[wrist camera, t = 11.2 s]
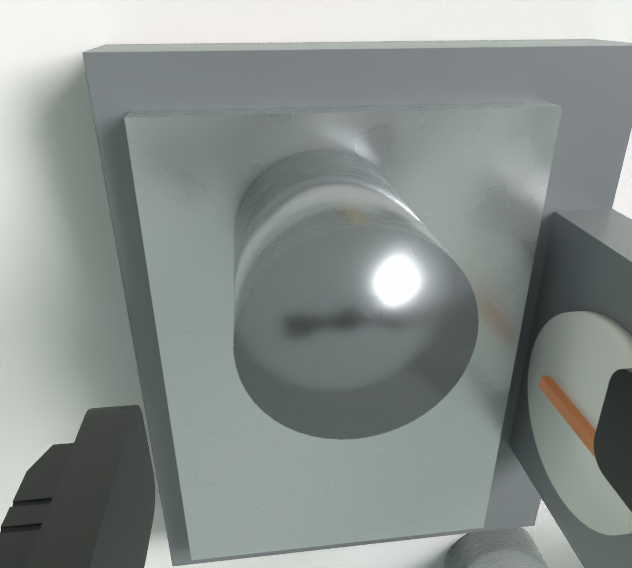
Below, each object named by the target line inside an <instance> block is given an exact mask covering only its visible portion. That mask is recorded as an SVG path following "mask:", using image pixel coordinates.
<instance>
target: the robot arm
mask: <svg viewBox="0 0 632 568" xmlns="http://www.w3.org/2000/svg"><path fill="white" fill-rule="evenodd" d="M594 454H595V458H596V461H597V464H598V467H599V469H600V471H601V472H602V474H603V475H604V477H605V478H606V480H607V481H608V482H609V483H610V485H611V486H612V487H613V489H614V490H615V491H616V493H617V494H618V495H619V497H620V498H621V499H622V500H623V502H624V503H625V504H626V506H627V507H628V508H629V510H630V511H631V512H632V368H627V369H619V370H617V371H615V372H614V373H613V374H612V376H611V378H610V381H609V384H608V388H607V392H606V395H605V399H604V403H603V406H602V410H601V414H600V418H599V421H598V425H597V429H596V432H595V436H594ZM154 506H155V483H154V475H153V469H152V464H151V458H150V453H149V447H148V442H147V437H146V431H145V426H144V420H143V415H142V411H141V409H140V407H139V406H138V405H130V406H117V407H104V408H92V409H89V410H88V411H87V412H86V414H85V417H84V419H83V422H82V424H81V427H80V429H79V432H78V434H77V437H76V440H75V442H74V443H69V444H57V445H52V446H51V447H50V448H49V449H48V450H47V451H46V452H45V453H44V454H43V456H42V457H41V458H40V459H39V460H38V461H37V462H36V463H35V464H34V465H33V466H32V467H31V468H30V469H29V470H28V471H27V472H26V474H25V477H24V479H23V481H22V483H21V485H20V487H19V489H18V491H17V494H16V496H15V498H14V500H13V507H10V508H9V510H8V513H7V515H6V517H5V519H4V521H3V523H2V525H1V532H0V568H144V566H145V561H146V555H147V549H148V544H149V538H150V533H151V527H152V522H153V516H154Z"/></svg>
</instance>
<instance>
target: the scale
mask: <svg viewBox="0 0 632 568" xmlns="http://www.w3.org/2000/svg"><path fill="white" fill-rule="evenodd" d="M82 53H83V59H84V65H85V70H86V76H87V82H88V87H89V93H90V99H91V104H92V110H93V116H94V121H95V127H96V133H97V138H98V144H99V150H100V156H101V161H102V167H103V173H104V178H105V184H106V190H107V195H108V201H109V207H110V212H111V218H112V224H113V229H114V235H115V241H116V247H117V252H118V258H119V264H120V269H121V275H122V281H123V286H124V292H125V298H126V303H127V309H128V315H129V320H130V326H131V332H132V338H133V343H134V349H135V355H136V360H137V366H138V372H139V377H140V383H141V389H142V394H143V400H144V406H145V411H146V417H147V423H148V429H149V434H150V440H151V446H152V451H153V457H154V463H155V468H156V474H157V480H158V485H159V491H160V497H161V502H162V508H163V514H164V520H165V525H166V531H167V537H168V542H169V548H170V554H171V559H172V565H173V566H179V565H188V564H197V563H206V562H214V561H223V560H232V559H241V558H250V557H259V556H268V555H277V554H285V553H294V552H303V551H312V550H321V549H330V548H339V547H348V546H356V545H365V544H374V543H383V542H392V541H401V540H410V539H419V538H427V537H436V536H445V535H454V534H463V533H472V532H481V531H490V530H498V529H507V528H516V527H525V526H534V524H535V520H536V516H537V512H538V508H539V504H540V500H541V498H542V500H543V501H544V503H545V505H546V506H547V508H548V509H549V511H550V513H551V514H552V516H553V518H554V519H555V521H556V522H557V524H558V526H559V527H560V529H561V531H562V532H563V534H564V535H565V537H566V539H567V540H568V542H569V544H570V545H571V547H572V548H573V550H574V552H575V553H576V555H577V557H578V558H579V560H580V561H581V563H582V565H583V566H584V568H632V512H631V511H630V510H629V508H628V507H627V506H626V504H625V503H624V502H623V500H622V499H621V498H620V497H619V495H618V494H617V493H616V491H615V490H614V489H613V487H612V486H611V485H610V483H609V482H608V481H607V480H606V478H605V477H604V475H603V474H602V472H601V471H600V469H599V467H598V464H597V461H596V458H595V454H594V436H595V432H596V429H597V425H598V421H599V418H600V414H601V410H602V406H603V403H604V399H605V395H606V392H607V388H608V384H609V381H610V378H611V376H612V374H613V373H614V372H615V371H617V370H619V369H627V368H632V220H631V219H630V218H628V217H626V216H624V215H622V214H621V213H619V212H617V211H615V210H613V209H612V206H613V202H614V197H615V193H616V189H617V185H618V181H619V177H620V173H621V169H622V165H623V161H624V157H625V153H626V148H627V144H628V140H629V136H630V132H631V128H632V43H625V42H616V41H606V40H596V39H570V40H481V41H393V42H304V43H216V44H127V45H104V46H101V47H98V48H95V49H91V50H88V51H85V52H82ZM311 150H333V151H339V152H344V153H347V154H350V155H353V156H356V157H358V158H360V159H362V160H364V161H365V162H367V163H368V164H370V165H371V166H373V167H374V168H375V169H376V170H377V171H379V172H380V173H381V174H382V176H383V177H384V178H385V179H386V180H387V181H388V183H389V184H390V185H391V186H392V187H393V189H394V190H395V191H396V192H397V193H398V194H399V196H400V197H401V198H402V199H403V200H404V202H405V203H406V204H407V205H408V206H409V208H410V209H411V210H412V211H413V212H414V213H415V215H416V216H417V217H418V218H419V219H420V221H421V222H422V223H423V224H424V225H425V227H426V228H427V229H428V230H429V231H430V232H431V234H432V235H433V236H434V237H435V238H436V240H437V241H438V242H439V243H440V244H441V246H442V247H443V248H444V249H445V250H446V252H447V253H448V254H449V255H450V256H451V257H452V259H453V260H454V261H455V262H456V263H457V265H458V266H459V267H460V268H461V269H462V271H463V272H464V274H465V276H466V277H467V279H468V281H469V282H470V285H471V287H472V290H473V292H474V295H475V299H476V303H477V307H478V320H479V323H478V335H477V340H476V345H475V349H474V351H473V354H472V357H471V360H470V362H469V364H468V366H467V368H466V370H465V372H464V374H463V375H462V377H461V378H460V379H459V381H458V382H457V384H456V385H455V386H454V388H453V389H452V390H451V391H450V392H449V393H448V394H447V396H446V397H445V398H444V399H442V400H441V401H440V402H439V403H438V404H437V405H436V406H435V407H433V408H432V409H431V410H429V411H428V412H427V413H425V414H424V415H422V416H421V417H419V418H417V419H416V420H414V421H412V422H411V423H408V424H406V425H404V426H402V427H400V428H398V429H395V430H392V431H389V432H386V433H384V434H379V435H375V436H371V437H366V438H359V439H343V440H339V439H325V438H319V437H313V436H309V435H306V434H303V433H299V432H297V431H294V430H292V429H290V428H287V427H285V426H283V425H282V424H280V423H278V422H276V421H275V420H273V419H272V418H271V417H269V416H268V415H267V414H266V413H264V412H263V411H262V410H261V409H260V408H259V407H258V406H257V405H256V404H255V403H254V402H253V400H252V399H251V397H250V396H249V395H248V393H247V392H246V390H245V388H244V386H243V384H242V382H241V380H240V378H239V375H238V372H237V369H236V365H235V359H234V353H233V323H234V225H235V218H236V214H237V211H238V207H239V205H240V203H241V200H242V198H243V196H244V194H245V193H246V191H247V189H248V188H249V186H250V185H251V184H252V183H253V182H254V180H255V179H256V178H257V177H258V176H259V175H260V174H261V173H262V172H263V171H264V170H266V169H267V168H269V167H270V166H271V165H273V164H274V163H276V162H278V161H280V160H282V159H283V158H286V157H288V156H291V155H294V154H296V153H301V152H305V151H311Z"/></svg>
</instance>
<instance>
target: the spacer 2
mask: <svg viewBox="0 0 632 568" xmlns="http://www.w3.org/2000/svg"><path fill="white" fill-rule="evenodd" d="M445 568H548V567H547V565H546V563H545V561H544V559H543V558H542V556H541V554H540V552H539V550H538V549H537V547H536V545H535V543H534V541H533V540H532V538H531V536H530V535H529V533H528V532H527V531H525V530H524V529H522V528H520V527H516V528H507V529H498V530H490V531H481V532H472V533H468V534H466V535H465V536H463V537H462V538H460V539H459V540H458V541H457V542H456V543H455V544H454V545H453V546H452V548H451V549H450V550H449V552H448V554H447V556H446V560H445Z"/></svg>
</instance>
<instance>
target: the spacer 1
mask: <svg viewBox="0 0 632 568" xmlns="http://www.w3.org/2000/svg"><path fill="white" fill-rule="evenodd" d="M478 323H479V320H478V307H477V303H476V299H475V295H474V292H473V290H472V287H471V285H470V282H469V281H468V279H467V277H466V276H465V274H464V272H463V271H462V269H461V268H460V267H459V266H458V265H457V263H456V262H455V261H454V260H453V259H452V257H451V256H450V255H449V254H448V253H447V252H446V250H445V249H444V248H443V247H442V246H441V244H440V243H439V242H438V241H437V240H436V238H435V237H434V236H433V235H432V234H431V232H430V231H429V230H428V229H427V228H426V227H425V225H424V224H423V223H422V222H421V221H420V219H419V218H418V217H417V216H416V215H415V213H414V212H413V211H412V210H411V209H410V208H409V206H408V205H407V204H406V203H405V202H404V200H403V199H402V198H401V197H400V196H399V194H398V193H397V192H396V191H395V190H394V189H393V187H392V186H391V185H390V184H389V183H388V181H387V180H386V179H385V178H384V177H383V176H382V174H381V173H380V172H379V171H377V170H376V169H375V168H374V167H373V166H371V165H370V164H368V163H367V162H365V161H364V160H362V159H360V158H358V157H356V156H353V155H350V154H347V153H344V152H339V151H333V150H311V151H305V152H301V153H296V154H294V155H291V156H288V157H286V158H283V159H282V160H280V161H278V162H276V163H274V164H273V165H271V166H270V167H269V168H267V169H266V170H264V171H263V172H262V173H261V174H260V175H259V176H258V177H257V178H256V179H255V180H254V182H253V183H252V184H251V185H250V186H249V188H248V189H247V191H246V193H245V194H244V196H243V198H242V200H241V203H240V205H239V207H238V211H237V214H236V218H235V225H234V323H233V353H234V359H235V365H236V369H237V372H238V375H239V378H240V380H241V382H242V384H243V386H244V388H245V390H246V392H247V393H248V395H249V396H250V397H251V399H252V400H253V402H254V403H255V404H256V405H257V406H258V407H259V408H260V409H261V410H262V411H263V412H264V413H266V414H267V415H268V416H269V417H271V418H272V419H273V420H275V421H276V422H278V423H280V424H282V425H283V426H285V427H287V428H290V429H292V430H294V431H297V432H299V433H303V434H306V435H309V436H313V437H319V438H325V439H339V440H343V439H359V438H366V437H371V436H375V435H379V434H384V433H386V432H389V431H392V430H395V429H398V428H400V427H402V426H404V425H406V424H408V423H411V422H412V421H414V420H416V419H417V418H419V417H421V416H422V415H424V414H425V413H427V412H428V411H429V410H431V409H432V408H433V407H435V406H436V405H437V404H438V403H439V402H440V401H441V400H442V399H444V398H445V397H446V396H447V394H448V393H449V392H450V391H451V390H452V389H453V388H454V386H455V385H456V384H457V382H458V381H459V379H460V378H461V377H462V375H463V374H464V372H465V370H466V368H467V366H468V364H469V362H470V360H471V357H472V354H473V351H474V349H475V345H476V340H477V335H478Z"/></svg>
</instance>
